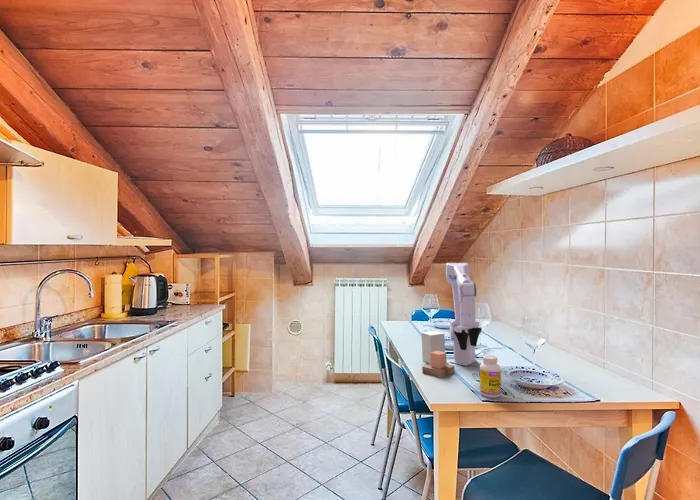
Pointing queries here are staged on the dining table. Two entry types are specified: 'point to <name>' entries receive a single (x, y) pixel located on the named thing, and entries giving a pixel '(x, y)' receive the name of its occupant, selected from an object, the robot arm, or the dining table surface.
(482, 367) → the supplement bottle
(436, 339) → the supplement box
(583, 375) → the dining table surface
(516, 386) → the dining table surface
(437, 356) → the terracotta block
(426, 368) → the walnut box
